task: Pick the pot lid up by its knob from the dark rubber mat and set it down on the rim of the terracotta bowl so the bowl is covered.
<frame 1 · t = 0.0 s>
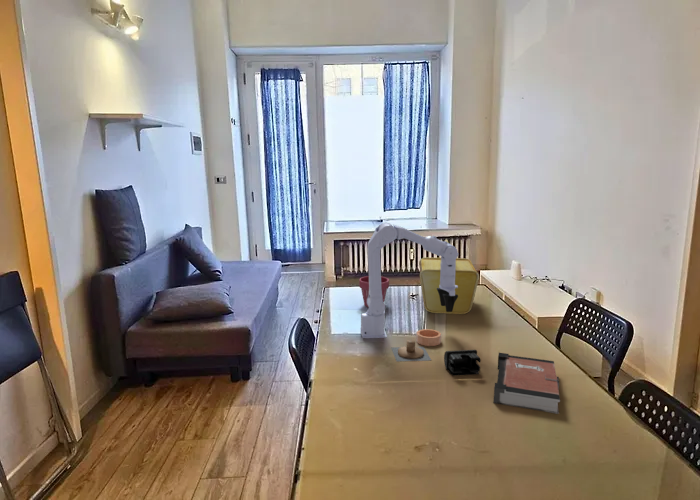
hand: (446, 308, 179), 10 cm above the table, tool pointing down, fingers open, 7 cm apart
lid: (410, 353, 160), resting on mat
bowl: (428, 342, 172), on the table
mat: (410, 354, 161), on the table
plant pot: (373, 305, 218), on the table
picnic basket: (445, 305, 217), on the table
book: (526, 389, 137), on the table
end cap: (461, 372, 148), on the table
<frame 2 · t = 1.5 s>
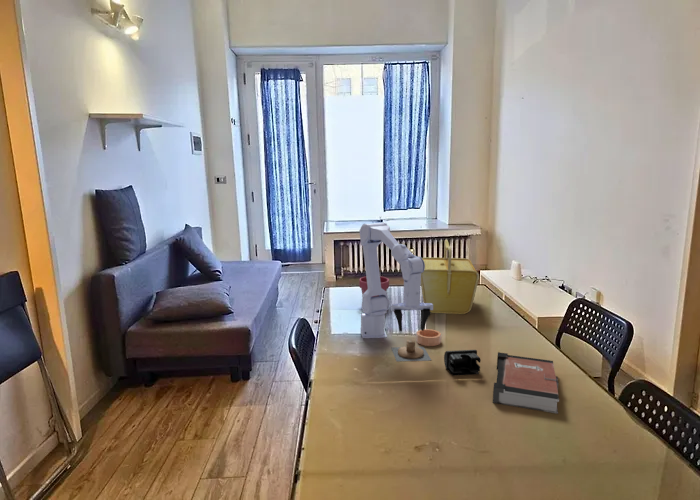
hand: (411, 329, 159), 9 cm above the table, tool pointing down, fingers open, 7 cm apart
nothing on the table moved.
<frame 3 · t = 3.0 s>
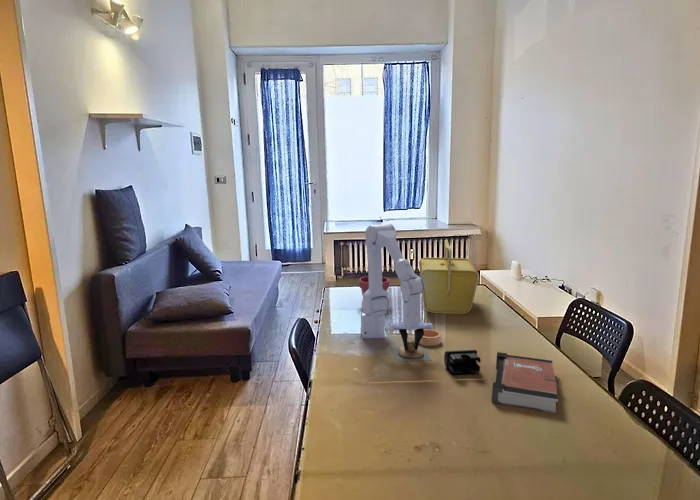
hand: (410, 349, 160), 2 cm above the table, tool pointing down, fingers closed on lid, 3 cm apart
lid: (410, 353, 160), resting on mat, touching gripper
everything else where it was.
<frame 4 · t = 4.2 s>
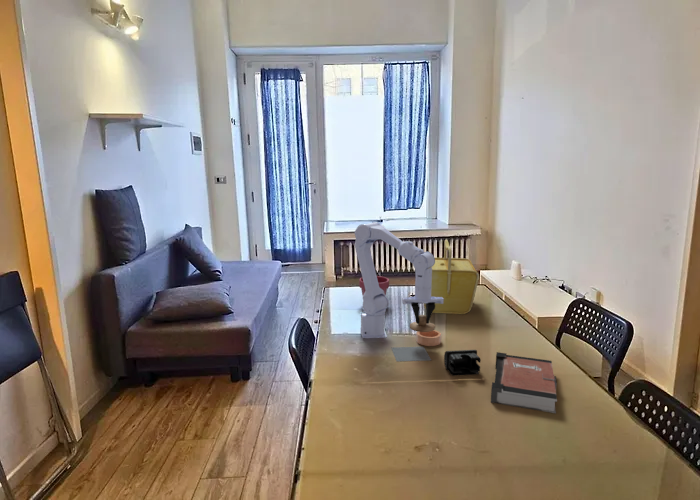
hand: (422, 322, 166), 9 cm above the table, tool pointing down, fingers closed on lid, 3 cm apart
lid: (422, 327, 166), point 7 cm above the table, touching gripper
everything else where it was.
when the fingers open (6 cm above the table, at t = 5.4 s): lid stays where it is, resting on bowl.
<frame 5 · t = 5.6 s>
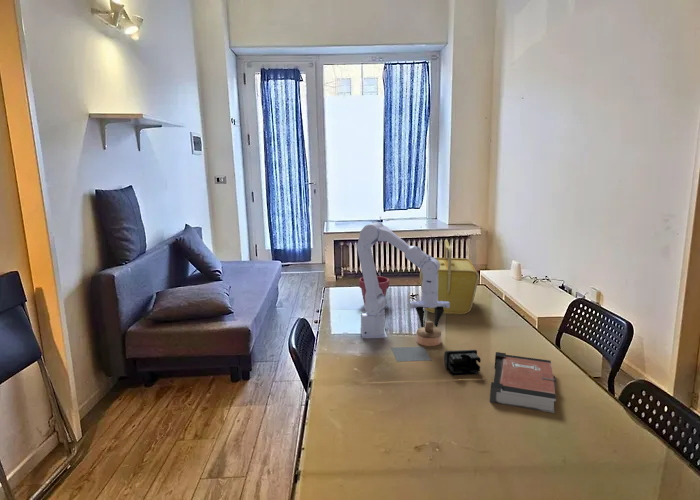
hand: (429, 326, 171), 6 cm above the table, tool pointing down, fingers open, 5 cm apart
lid: (429, 333, 171), point 3 cm above the table, touching bowl
everything else where it was.
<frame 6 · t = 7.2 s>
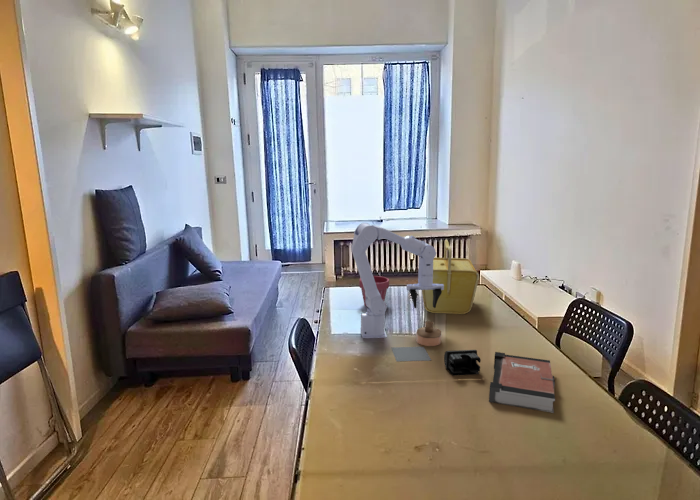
hand: (424, 307, 182), 10 cm above the table, tool pointing down, fingers open, 7 cm apart
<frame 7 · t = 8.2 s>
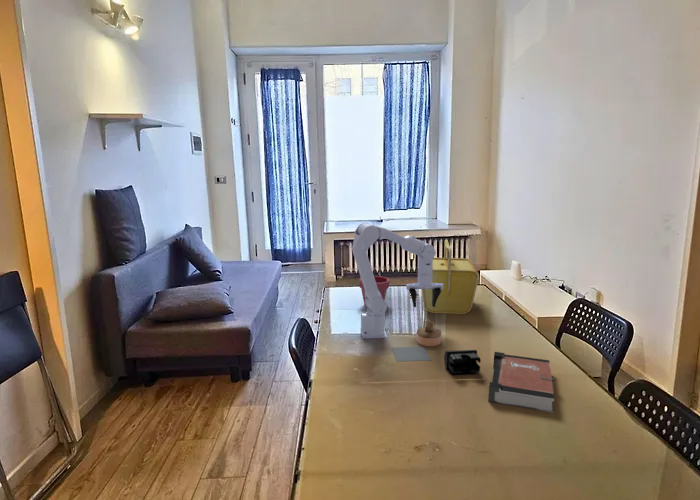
hand: (424, 306, 183), 10 cm above the table, tool pointing down, fingers open, 7 cm apart
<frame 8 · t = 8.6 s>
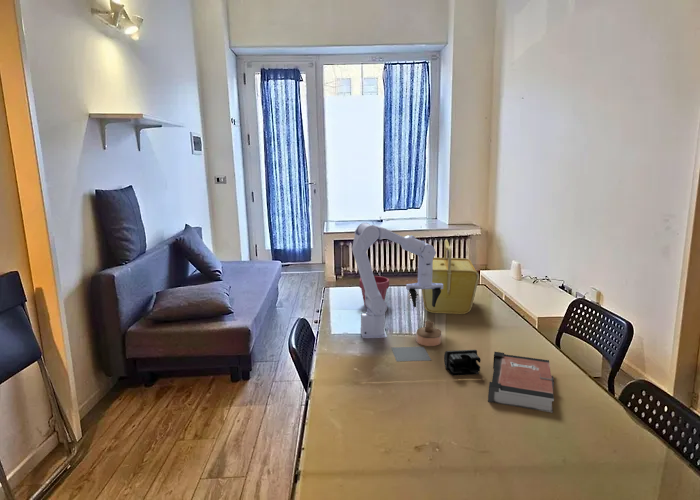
hand: (424, 306, 183), 10 cm above the table, tool pointing down, fingers open, 7 cm apart
at the end: lid 0.3 cm off-centre on the bowl, point 3.5 cm above the bowl's base; lid tilted 0°; the gripper is holding nothing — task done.
